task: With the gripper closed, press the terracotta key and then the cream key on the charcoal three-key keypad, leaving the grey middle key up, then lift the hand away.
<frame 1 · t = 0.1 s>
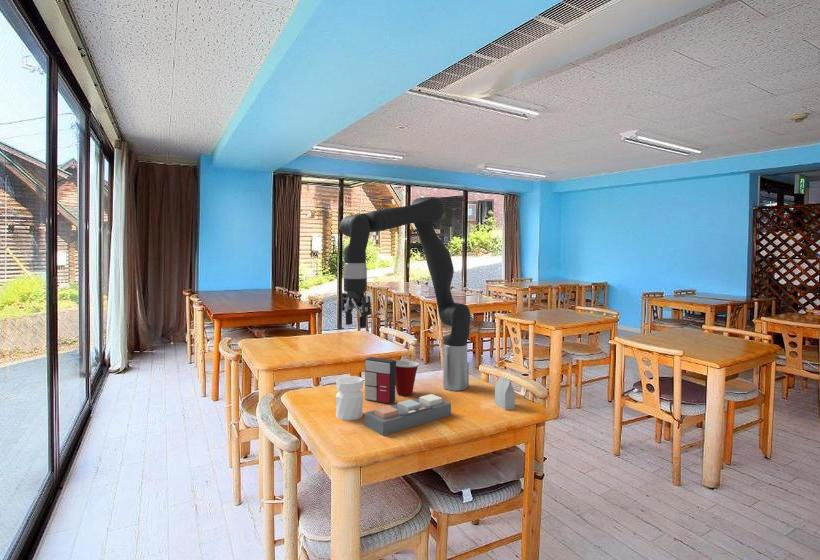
hand: (355, 326, 154), 29 cm above the table, tool pointing down, fingers open, 8 cm apart
plastic cup: (405, 394, 176), on the table
red and grey box: (380, 401, 168), on the table
cream key: (430, 402, 155), point 4 cm above the table, slide at 0.0 cm
keypad housing: (409, 420, 150), on the table
pale grey block: (504, 406, 163), on the table
vase: (349, 416, 154), on the table
grey key: (409, 407, 149), point 4 cm above the table, slide at 0.0 cm
terracotta key: (385, 414, 144), point 4 cm above the table, slide at 0.0 cm
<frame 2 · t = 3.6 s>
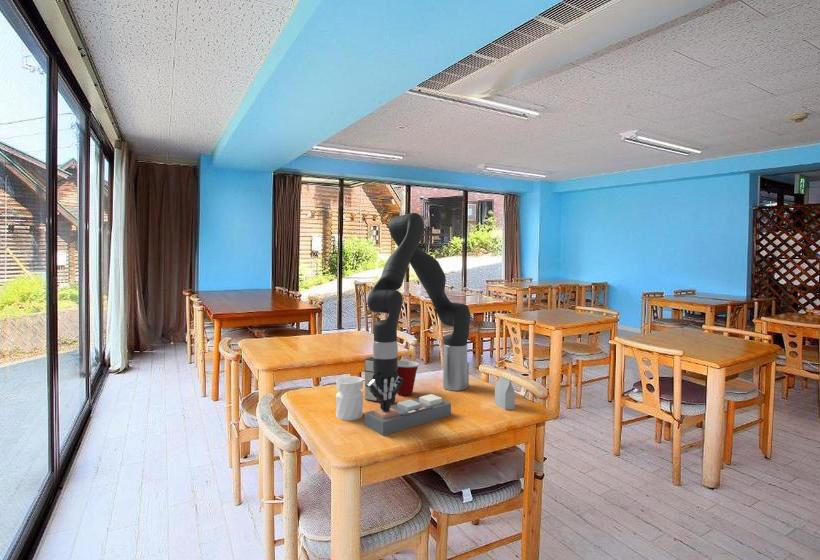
hand: (385, 410, 144), 5 cm above the table, tool pointing down, fingers closed
terracotta key: (385, 415, 144), point 4 cm above the table, slide at 0.4 cm, touching gripper
everything else where it was.
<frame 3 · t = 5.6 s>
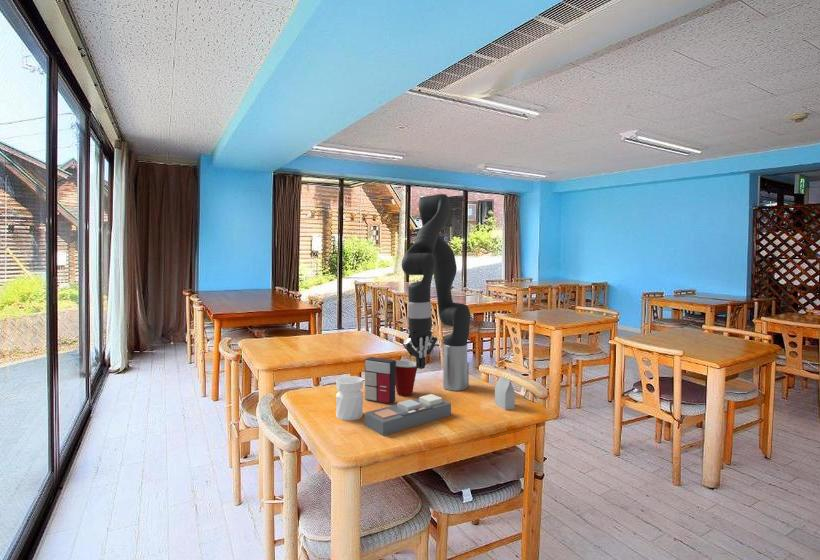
hand: (420, 368, 152), 16 cm above the table, tool pointing down, fingers closed
terracotta key: (385, 417, 144), point 3 cm above the table, slide at 1.2 cm
everything else where it was.
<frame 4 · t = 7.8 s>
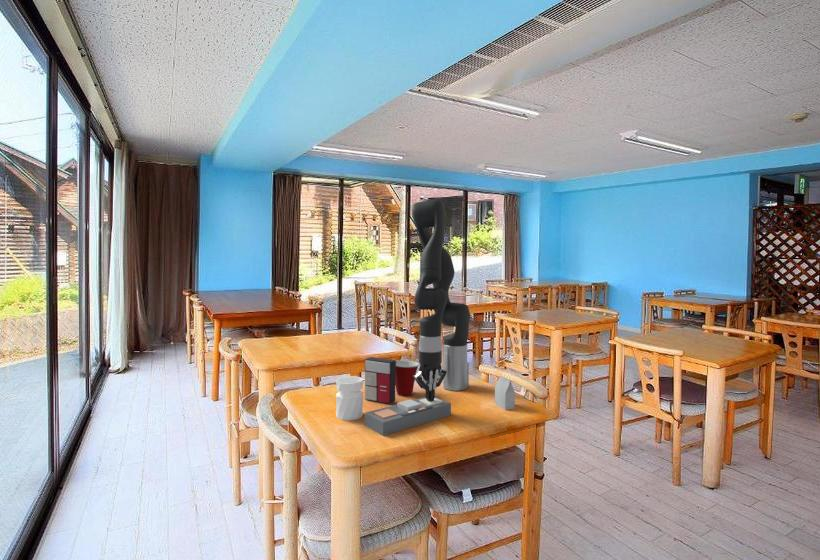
hand: (430, 400, 155), 5 cm above the table, tool pointing down, fingers closed
cream key: (430, 405, 155), point 3 cm above the table, slide at 1.0 cm, touching gripper
everything else where it was.
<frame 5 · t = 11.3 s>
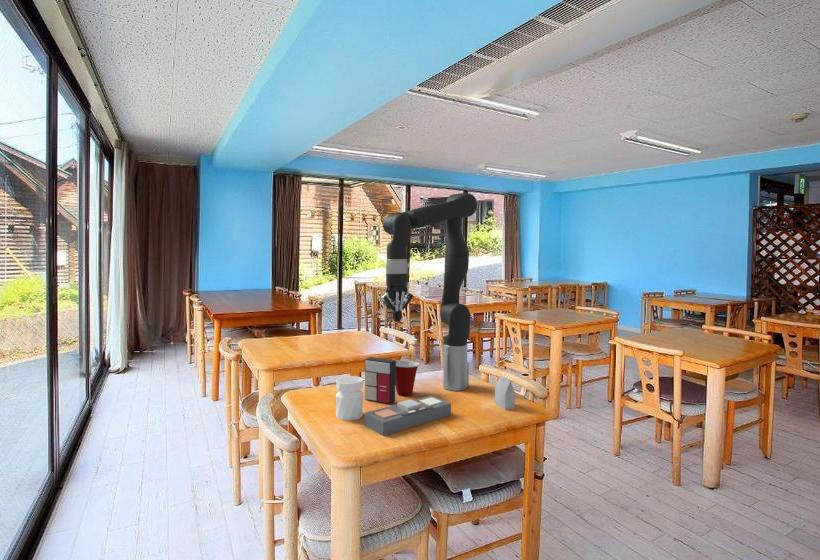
hand: (397, 321, 164), 29 cm above the table, tool pointing down, fingers closed
cream key: (430, 405, 155), point 3 cm above the table, slide at 1.2 cm
everything else where it was.
at the end: terracotta key slide at 1.2 cm; cream key slide at 1.2 cm; grey key slide at 0.0 cm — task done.
